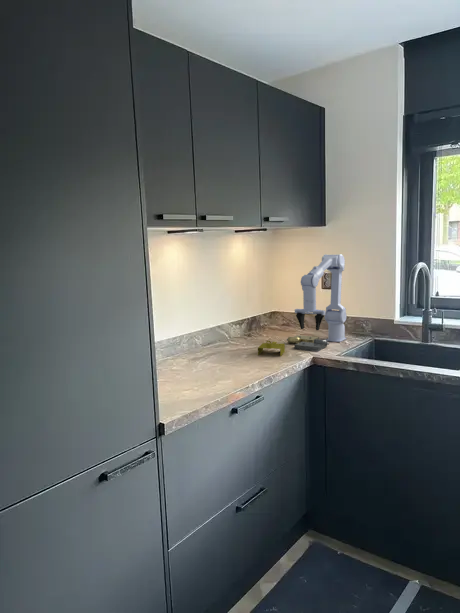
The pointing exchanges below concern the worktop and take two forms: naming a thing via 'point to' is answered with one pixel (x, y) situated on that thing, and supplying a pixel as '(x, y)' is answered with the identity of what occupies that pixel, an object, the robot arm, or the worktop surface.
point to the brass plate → (301, 339)
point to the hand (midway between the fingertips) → (309, 329)
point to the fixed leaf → (312, 345)
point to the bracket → (272, 345)
